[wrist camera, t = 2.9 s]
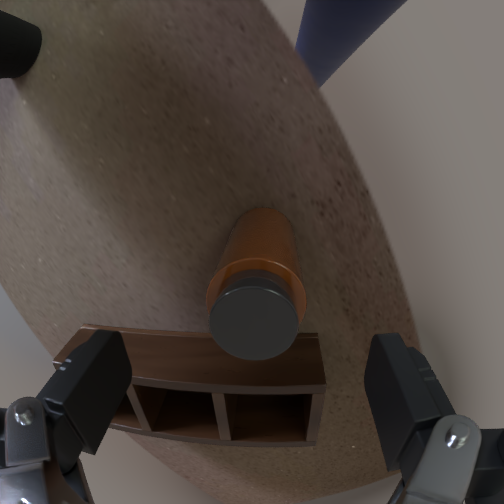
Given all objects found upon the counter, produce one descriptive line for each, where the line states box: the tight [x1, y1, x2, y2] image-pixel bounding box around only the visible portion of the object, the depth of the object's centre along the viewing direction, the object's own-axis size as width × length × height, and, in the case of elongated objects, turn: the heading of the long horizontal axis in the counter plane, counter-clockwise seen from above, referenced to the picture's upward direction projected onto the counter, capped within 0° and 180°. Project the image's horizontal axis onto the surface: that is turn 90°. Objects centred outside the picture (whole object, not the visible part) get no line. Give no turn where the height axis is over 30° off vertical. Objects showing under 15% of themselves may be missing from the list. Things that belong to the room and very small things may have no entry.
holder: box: [52, 324, 326, 447], centre depth 22 cm, size 7×20×6 cm, turn 92°
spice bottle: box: [206, 207, 307, 360], centre depth 15 cm, size 4×4×10 cm
